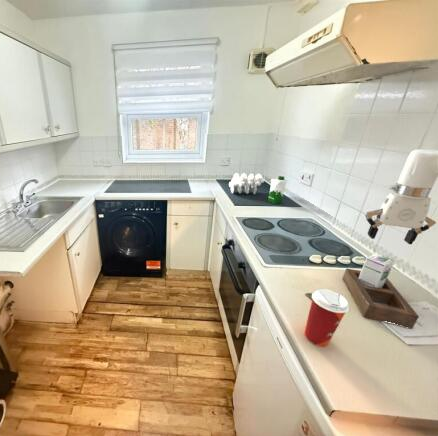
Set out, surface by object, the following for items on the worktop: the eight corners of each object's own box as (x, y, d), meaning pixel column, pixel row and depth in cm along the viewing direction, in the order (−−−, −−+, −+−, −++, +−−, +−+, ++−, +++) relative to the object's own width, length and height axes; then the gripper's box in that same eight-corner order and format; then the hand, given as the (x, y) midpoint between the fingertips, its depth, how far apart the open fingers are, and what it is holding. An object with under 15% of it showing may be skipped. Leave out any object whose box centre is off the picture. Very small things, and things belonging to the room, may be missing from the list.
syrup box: (372, 298, 85) (387, 264, 79) (353, 289, 90) (366, 256, 84) (380, 294, 87) (396, 260, 82) (361, 284, 92) (375, 252, 87)
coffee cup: (337, 354, 65) (356, 312, 59) (303, 344, 68) (317, 304, 62) (327, 330, 72) (343, 291, 66) (297, 323, 75) (309, 284, 69)
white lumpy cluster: (227, 196, 211) (256, 195, 209) (232, 193, 194) (264, 192, 192) (226, 175, 212) (255, 174, 210) (232, 171, 194) (263, 169, 193)
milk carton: (283, 203, 180) (289, 177, 173) (274, 205, 177) (280, 178, 169) (273, 200, 188) (278, 175, 180) (265, 201, 184) (270, 176, 177)
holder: (379, 285, 91) (384, 275, 90) (412, 328, 73) (419, 316, 71) (342, 278, 96) (346, 268, 94) (363, 317, 77) (369, 305, 75)
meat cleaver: (319, 295, 87) (303, 292, 88) (320, 292, 86) (304, 289, 88) (330, 317, 76) (311, 314, 78) (330, 314, 76) (312, 311, 78)
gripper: (381, 190, 73) (361, 239, 80) (458, 197, 67) (430, 250, 74) (371, 185, 80) (353, 230, 86) (441, 191, 74) (416, 239, 80)
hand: (388, 239), depth 80 cm, fingers open, 9 cm apart
